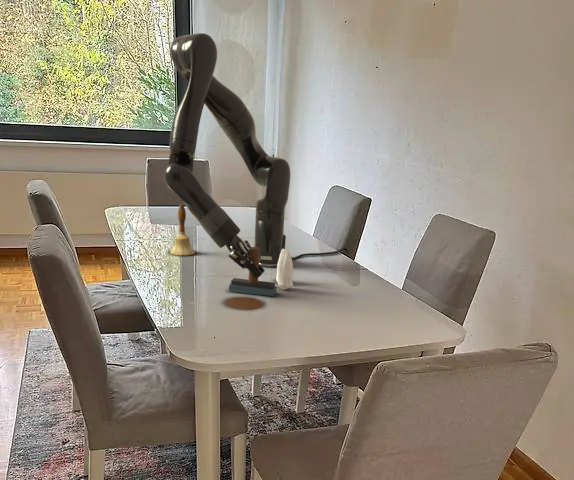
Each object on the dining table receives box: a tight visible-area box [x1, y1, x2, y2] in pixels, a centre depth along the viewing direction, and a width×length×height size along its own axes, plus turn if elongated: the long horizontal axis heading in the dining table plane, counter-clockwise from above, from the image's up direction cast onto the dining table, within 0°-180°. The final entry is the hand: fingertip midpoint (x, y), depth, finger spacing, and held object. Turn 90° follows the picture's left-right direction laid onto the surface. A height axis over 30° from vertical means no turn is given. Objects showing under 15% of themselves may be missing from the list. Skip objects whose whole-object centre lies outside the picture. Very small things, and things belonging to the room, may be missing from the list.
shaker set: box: [275, 248, 294, 290], centre depth 184 cm, size 12×4×11 cm, turn 4°
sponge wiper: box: [228, 246, 278, 297], centre depth 176 cm, size 4×13×13 cm, turn 78°
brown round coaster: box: [224, 296, 264, 311], centre depth 170 cm, size 10×10×1 cm
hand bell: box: [169, 203, 196, 257], centre depth 210 cm, size 8×8×16 cm
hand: (260, 274), depth 176 cm, fingers closed on sponge wiper, 2 cm apart
